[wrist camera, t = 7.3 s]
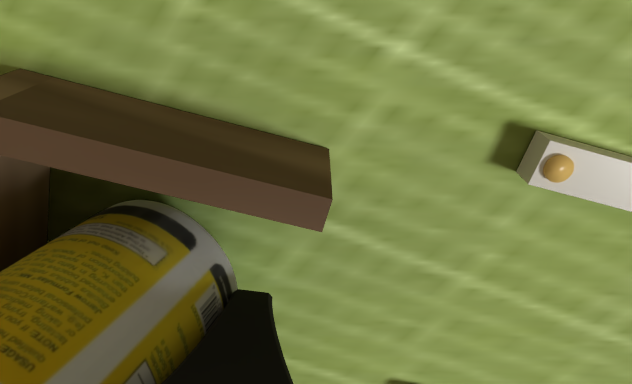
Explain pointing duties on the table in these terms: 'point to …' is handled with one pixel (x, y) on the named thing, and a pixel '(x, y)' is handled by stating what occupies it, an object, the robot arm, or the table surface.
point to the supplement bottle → (112, 299)
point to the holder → (143, 158)
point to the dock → (578, 170)
